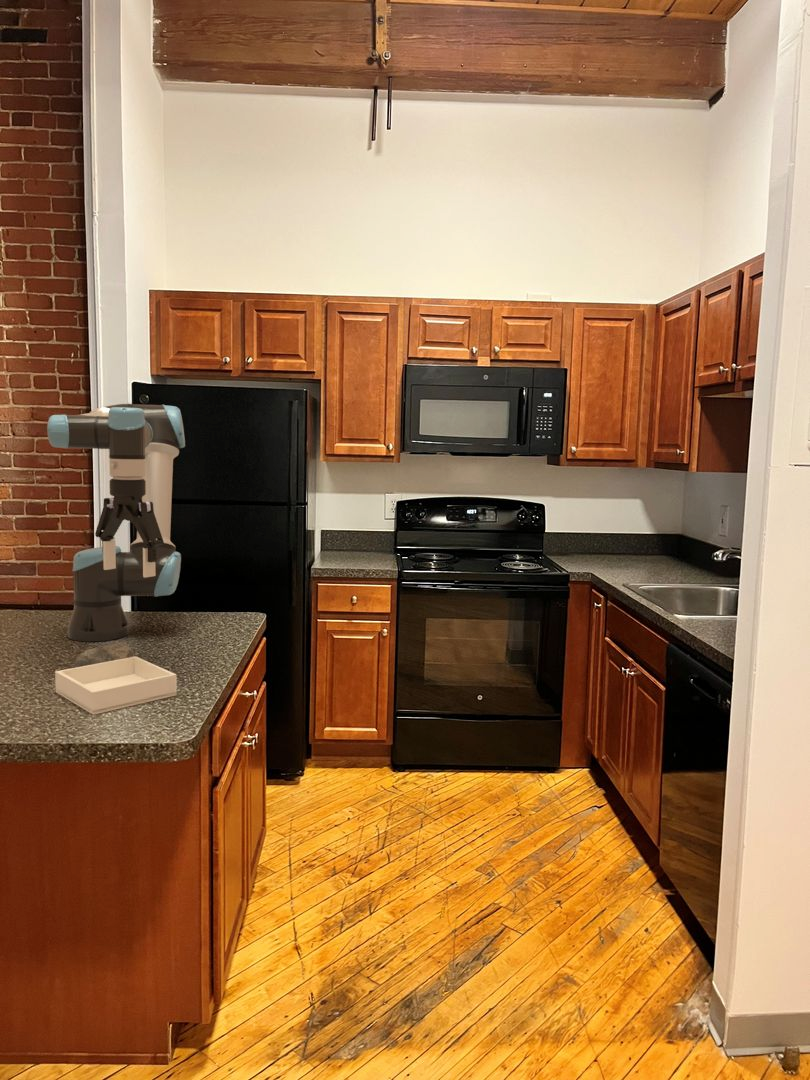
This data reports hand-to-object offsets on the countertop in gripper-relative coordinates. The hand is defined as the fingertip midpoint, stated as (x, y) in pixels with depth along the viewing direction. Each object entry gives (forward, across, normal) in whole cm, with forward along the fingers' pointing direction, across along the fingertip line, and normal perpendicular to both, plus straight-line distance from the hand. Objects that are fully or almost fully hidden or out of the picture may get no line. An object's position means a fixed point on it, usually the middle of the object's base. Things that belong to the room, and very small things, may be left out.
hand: (129, 572), depth 174 cm
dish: (+22, +12, -13) cm, 28 cm away
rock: (+23, -4, -4) cm, 23 cm away
